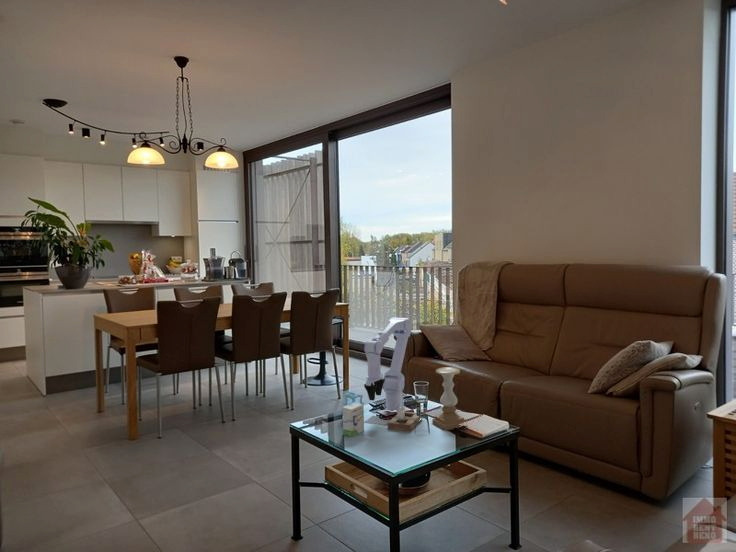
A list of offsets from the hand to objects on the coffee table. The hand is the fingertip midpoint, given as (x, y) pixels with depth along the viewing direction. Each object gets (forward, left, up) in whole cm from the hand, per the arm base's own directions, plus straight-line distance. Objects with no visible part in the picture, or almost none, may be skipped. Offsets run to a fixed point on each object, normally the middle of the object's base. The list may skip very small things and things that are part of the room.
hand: (375, 397), depth 237 cm
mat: (+1, +1, -10) cm, 10 cm away
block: (+2, +14, -10) cm, 18 cm away
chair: (+1, -11, -10) cm, 15 cm away
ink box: (+18, -3, -10) cm, 21 cm away
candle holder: (-4, +32, -10) cm, 34 cm away
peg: (+6, +14, -10) cm, 19 cm away
